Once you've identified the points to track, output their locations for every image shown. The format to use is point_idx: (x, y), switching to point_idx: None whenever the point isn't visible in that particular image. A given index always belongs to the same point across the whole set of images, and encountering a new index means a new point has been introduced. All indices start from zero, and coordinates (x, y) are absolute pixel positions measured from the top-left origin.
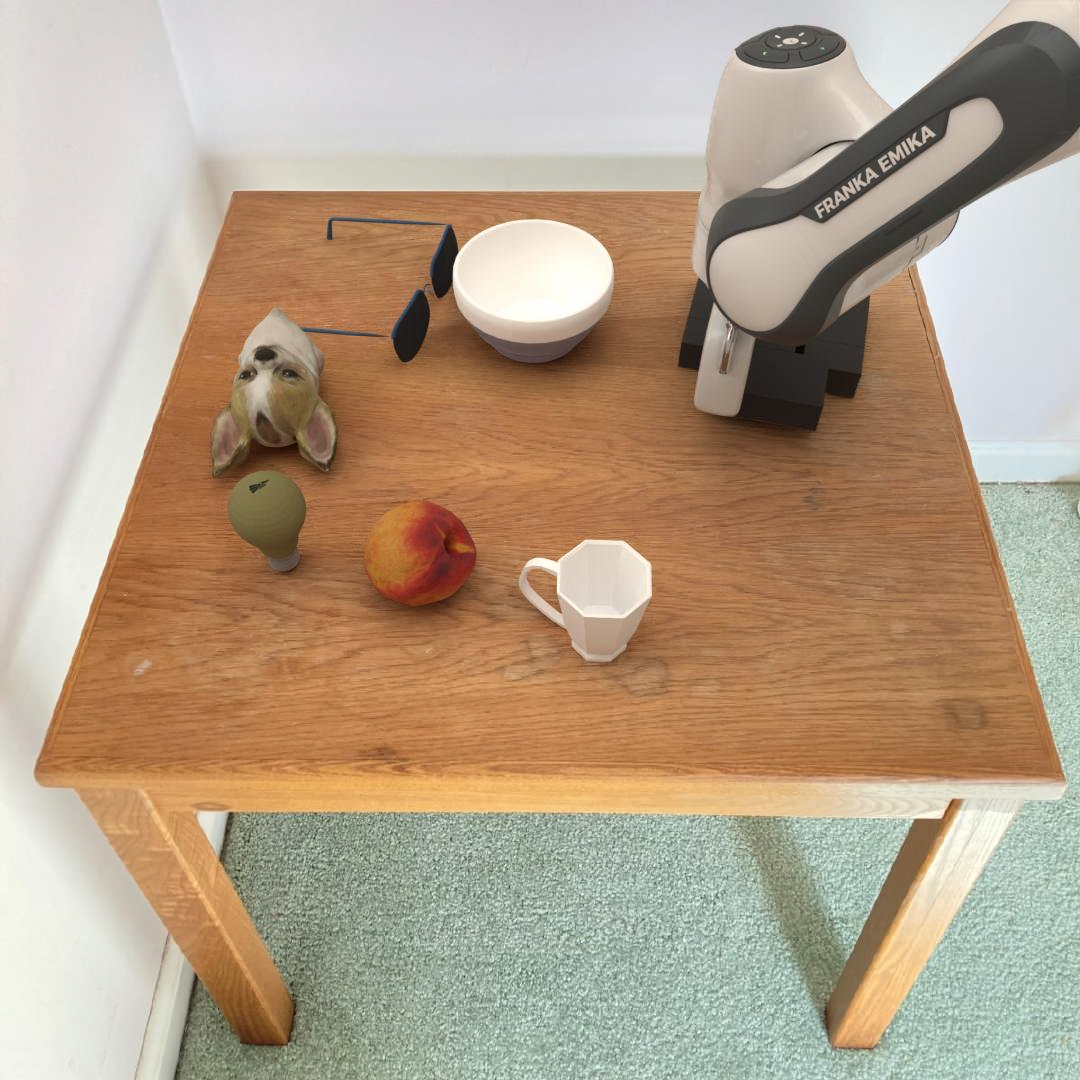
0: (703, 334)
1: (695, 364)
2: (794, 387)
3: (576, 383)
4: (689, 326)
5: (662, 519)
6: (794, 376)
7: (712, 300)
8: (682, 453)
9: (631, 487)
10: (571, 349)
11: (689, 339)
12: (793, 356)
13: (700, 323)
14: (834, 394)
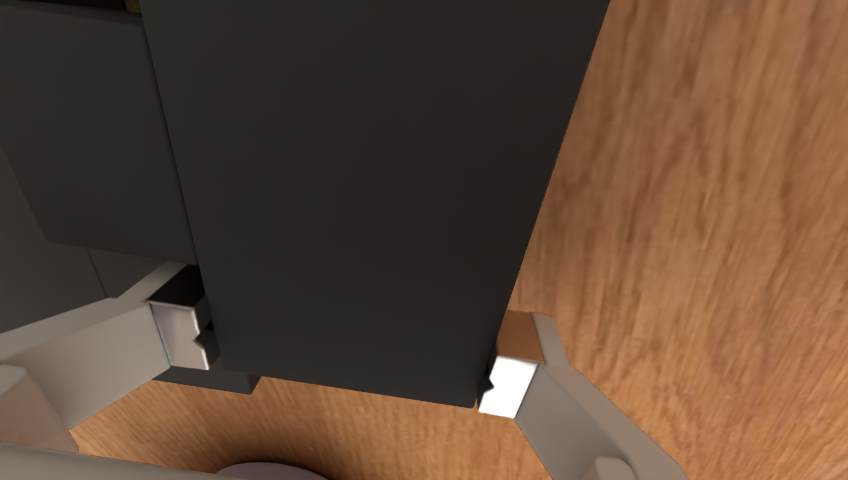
0: None
1: None
2: (462, 40)
3: (386, 461)
4: (177, 378)
5: (778, 362)
6: (359, 37)
7: (24, 321)
8: (575, 323)
9: (663, 405)
10: (310, 472)
11: (231, 379)
12: (180, 39)
13: None
14: None
